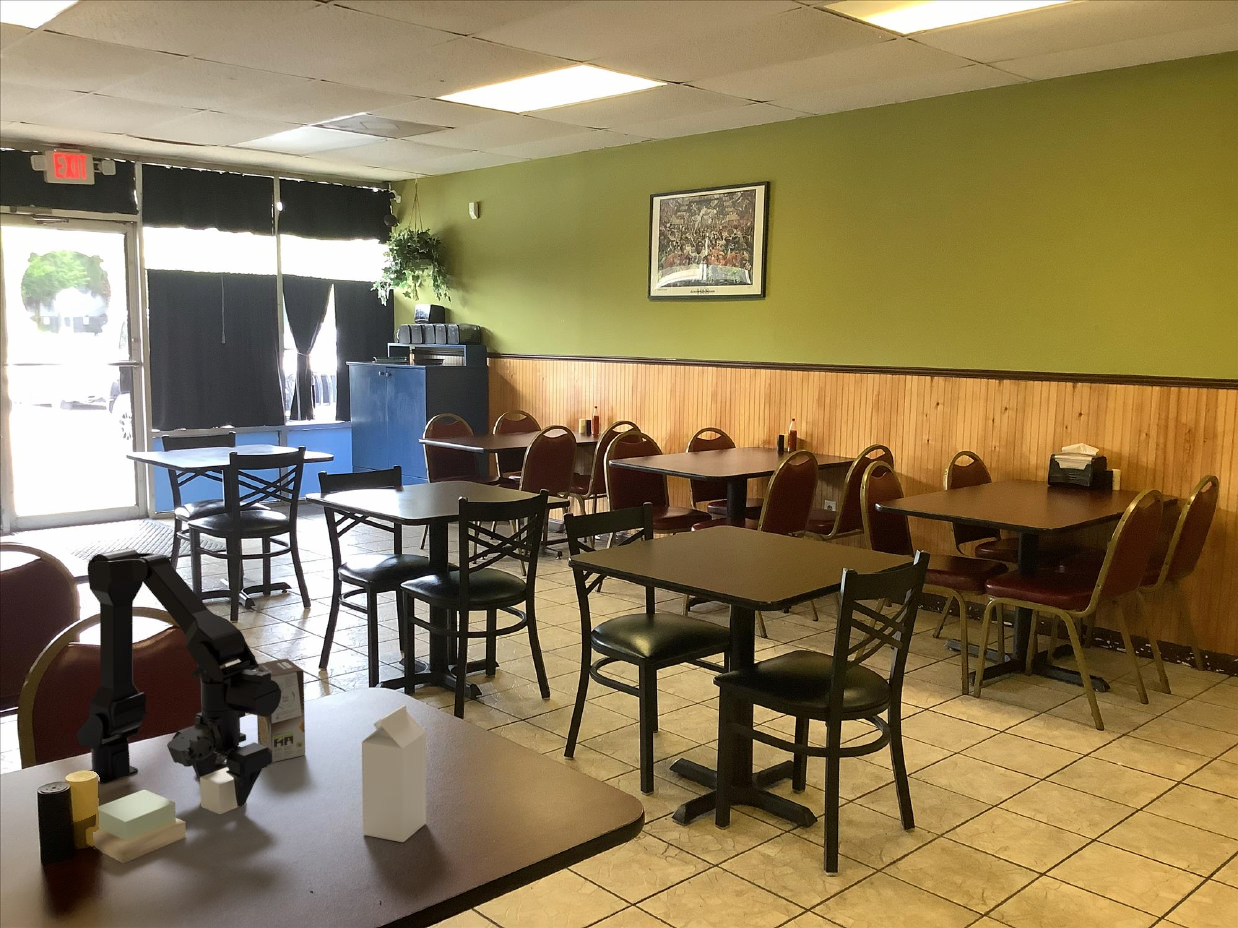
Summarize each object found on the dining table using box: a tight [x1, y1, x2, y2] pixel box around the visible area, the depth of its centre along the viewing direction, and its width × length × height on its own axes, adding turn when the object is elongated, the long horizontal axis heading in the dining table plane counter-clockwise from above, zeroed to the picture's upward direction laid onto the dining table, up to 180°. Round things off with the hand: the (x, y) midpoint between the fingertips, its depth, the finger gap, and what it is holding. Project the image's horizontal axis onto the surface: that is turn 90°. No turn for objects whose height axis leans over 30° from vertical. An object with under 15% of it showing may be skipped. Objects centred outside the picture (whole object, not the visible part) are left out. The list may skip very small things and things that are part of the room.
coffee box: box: [255, 658, 306, 763], centre depth 192 cm, size 9×6×16 cm
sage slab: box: [97, 789, 177, 842], centre depth 158 cm, size 8×8×3 cm
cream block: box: [199, 767, 247, 815], centre depth 170 cm, size 5×5×5 cm
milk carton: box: [361, 704, 427, 843], centre depth 161 cm, size 7×7×19 cm
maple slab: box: [93, 817, 187, 864], centre depth 158 cm, size 10×10×3 cm
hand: (223, 798), depth 170 cm, fingers open, 9 cm apart
